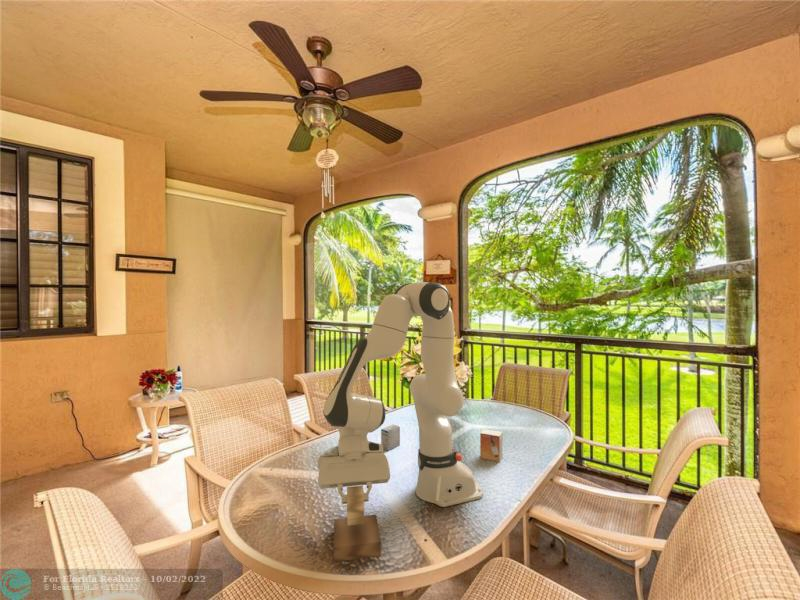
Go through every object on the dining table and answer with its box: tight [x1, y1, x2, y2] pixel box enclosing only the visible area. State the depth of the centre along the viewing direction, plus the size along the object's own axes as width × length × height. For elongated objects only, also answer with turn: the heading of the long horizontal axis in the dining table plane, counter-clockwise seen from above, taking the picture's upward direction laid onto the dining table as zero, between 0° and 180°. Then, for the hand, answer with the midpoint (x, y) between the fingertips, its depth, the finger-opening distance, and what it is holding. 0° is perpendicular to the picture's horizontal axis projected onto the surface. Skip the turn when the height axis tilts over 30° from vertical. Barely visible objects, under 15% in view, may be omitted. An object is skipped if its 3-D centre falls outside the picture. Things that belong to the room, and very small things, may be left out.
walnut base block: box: [333, 514, 382, 563], centre depth 100 cm, size 12×12×4 cm
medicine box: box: [380, 424, 401, 451], centre depth 163 cm, size 8×4×9 cm, turn 141°
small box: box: [479, 428, 504, 463], centre depth 151 cm, size 8×6×10 cm
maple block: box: [346, 485, 365, 526], centre depth 100 cm, size 4×4×8 cm
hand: (355, 502), depth 100 cm, fingers closed on maple block, 4 cm apart
